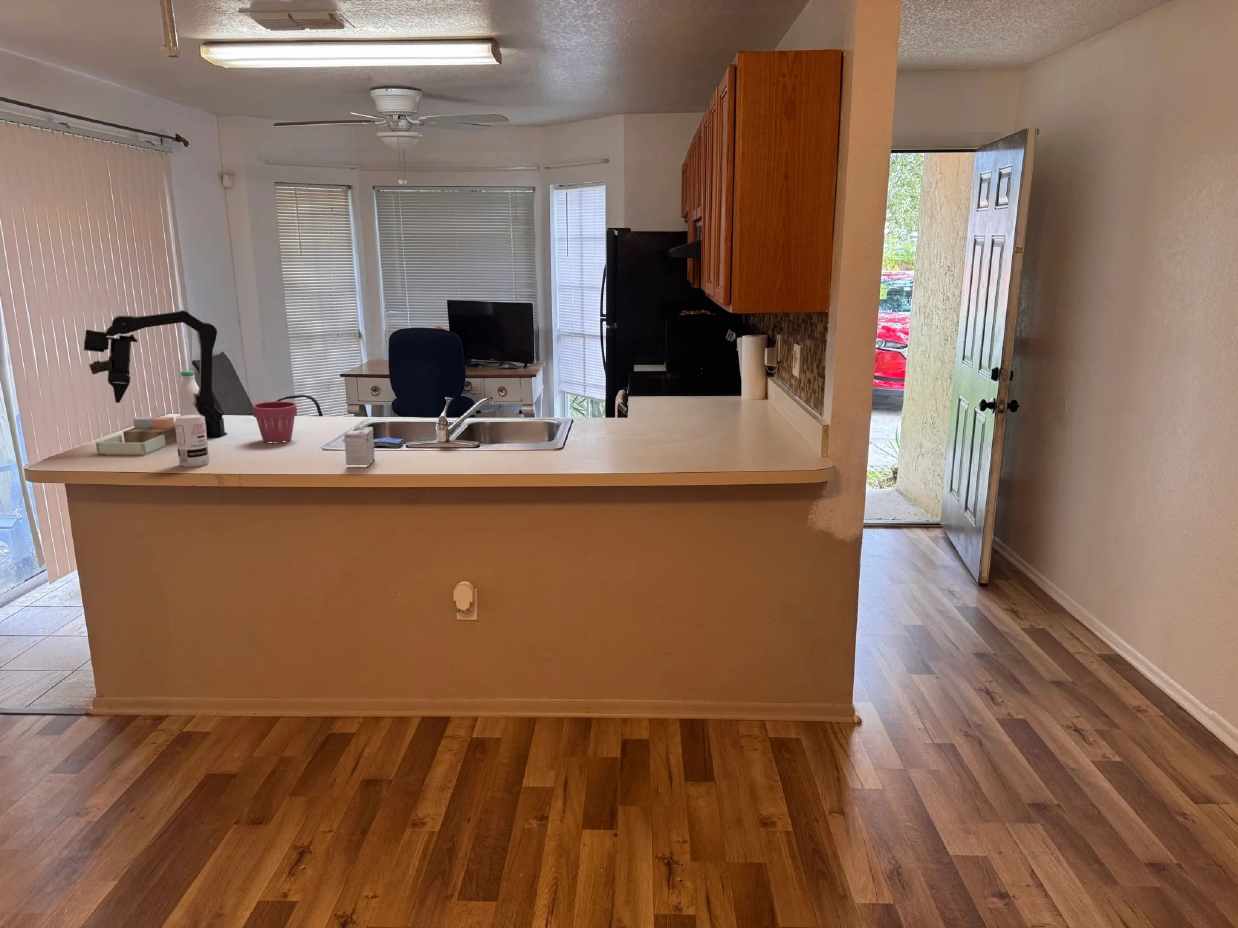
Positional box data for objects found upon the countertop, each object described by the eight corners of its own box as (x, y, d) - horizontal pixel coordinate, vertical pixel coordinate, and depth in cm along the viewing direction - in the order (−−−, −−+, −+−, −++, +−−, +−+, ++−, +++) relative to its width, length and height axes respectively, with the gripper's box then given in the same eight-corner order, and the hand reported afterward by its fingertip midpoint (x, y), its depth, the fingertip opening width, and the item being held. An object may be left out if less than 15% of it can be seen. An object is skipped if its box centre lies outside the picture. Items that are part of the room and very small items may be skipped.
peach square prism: (174, 425, 291) (173, 417, 290) (167, 428, 286) (166, 419, 285) (159, 425, 291) (158, 416, 290) (152, 428, 286) (151, 419, 285)
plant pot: (301, 443, 289) (298, 406, 286) (257, 446, 283) (253, 409, 280) (296, 435, 302) (294, 400, 299) (254, 438, 296) (251, 402, 293)
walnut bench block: (181, 439, 293) (180, 425, 292) (164, 446, 282) (162, 431, 280) (144, 438, 293) (142, 424, 292) (125, 446, 281) (123, 431, 280)
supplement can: (186, 461, 262) (180, 414, 259) (213, 461, 263) (208, 413, 259) (174, 467, 254) (169, 418, 251) (203, 467, 255) (198, 418, 251)
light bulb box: (353, 460, 267) (351, 426, 264) (375, 459, 268) (373, 426, 265) (345, 468, 257) (343, 433, 254) (368, 468, 257) (366, 433, 255)
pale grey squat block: (157, 425, 291) (156, 416, 290) (149, 428, 286) (148, 419, 285) (142, 425, 291) (141, 416, 290) (134, 428, 286) (133, 419, 285)
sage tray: (165, 446, 282) (164, 434, 281) (144, 455, 269) (143, 443, 268) (120, 446, 281) (119, 434, 280) (97, 455, 269) (95, 442, 268)
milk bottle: (195, 425, 316) (189, 372, 311) (177, 424, 317) (171, 372, 313) (208, 422, 323) (203, 370, 318) (191, 421, 325) (185, 369, 320)
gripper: (92, 348, 282) (89, 394, 285) (90, 354, 267) (88, 402, 269) (130, 352, 288) (127, 397, 291) (131, 358, 272) (128, 405, 275)
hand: (117, 400), depth 281 cm, fingers open, 9 cm apart
